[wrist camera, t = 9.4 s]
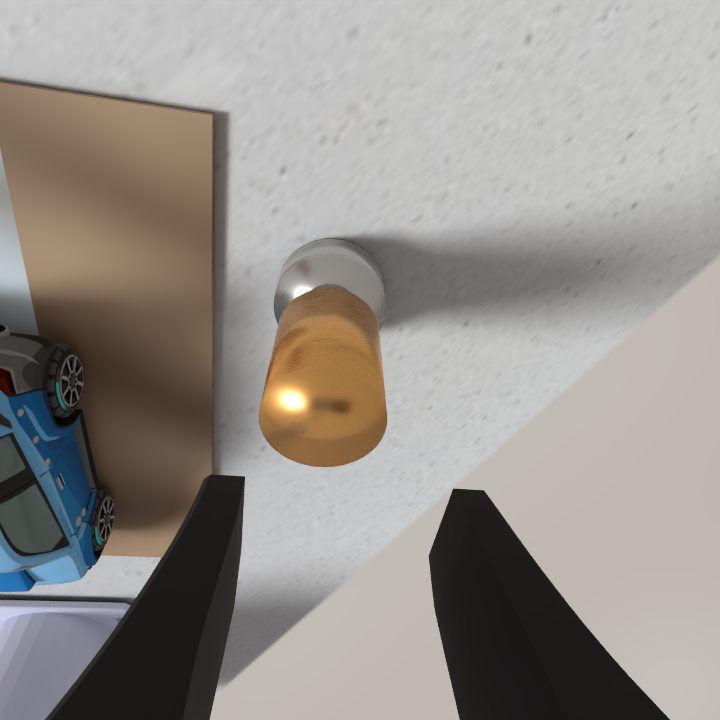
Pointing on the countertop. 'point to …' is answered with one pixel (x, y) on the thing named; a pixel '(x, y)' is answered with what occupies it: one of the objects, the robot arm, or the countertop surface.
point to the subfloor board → (118, 285)
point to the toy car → (46, 468)
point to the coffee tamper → (326, 357)
